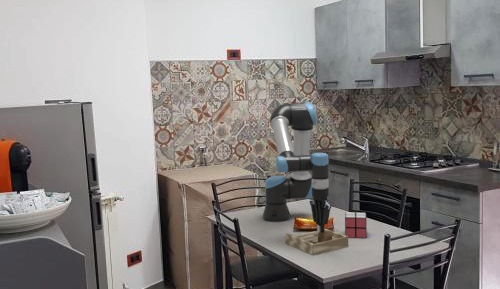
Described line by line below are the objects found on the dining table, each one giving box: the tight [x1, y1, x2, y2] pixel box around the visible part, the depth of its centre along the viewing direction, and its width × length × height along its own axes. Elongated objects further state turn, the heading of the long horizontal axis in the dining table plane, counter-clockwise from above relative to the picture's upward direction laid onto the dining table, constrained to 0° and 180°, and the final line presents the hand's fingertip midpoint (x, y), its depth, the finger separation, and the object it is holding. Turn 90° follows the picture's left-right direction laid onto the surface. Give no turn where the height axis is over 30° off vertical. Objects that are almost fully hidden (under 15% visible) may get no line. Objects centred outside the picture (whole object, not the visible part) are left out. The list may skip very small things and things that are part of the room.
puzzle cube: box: [344, 211, 368, 239], centre depth 245 cm, size 10×10×10 cm
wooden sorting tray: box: [284, 228, 349, 256], centre depth 232 cm, size 21×20×4 cm
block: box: [318, 231, 332, 243], centre depth 227 cm, size 4×4×4 cm
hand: (320, 238), depth 229 cm, fingers closed
